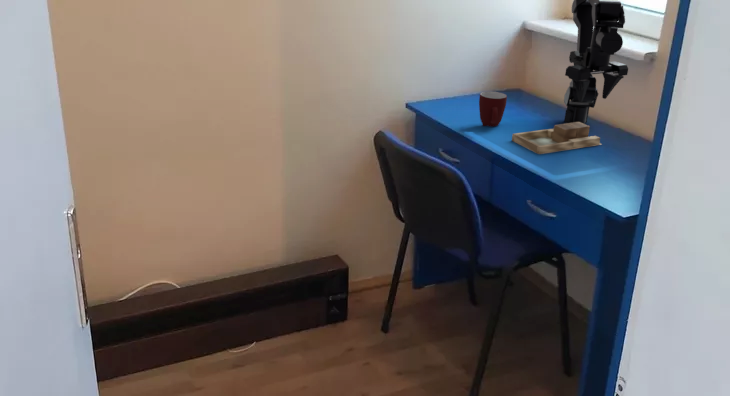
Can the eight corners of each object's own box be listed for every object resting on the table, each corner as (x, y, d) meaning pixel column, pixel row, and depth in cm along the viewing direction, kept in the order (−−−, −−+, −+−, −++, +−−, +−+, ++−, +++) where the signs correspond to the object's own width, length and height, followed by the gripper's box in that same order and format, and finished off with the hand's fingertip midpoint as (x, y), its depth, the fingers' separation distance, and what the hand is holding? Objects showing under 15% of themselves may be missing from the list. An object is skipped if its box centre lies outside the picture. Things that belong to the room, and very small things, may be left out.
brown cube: (576, 136, 216) (579, 121, 215) (587, 141, 213) (589, 126, 211) (564, 138, 214) (567, 123, 213) (575, 142, 211) (577, 127, 209)
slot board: (573, 134, 221) (574, 125, 220) (601, 147, 211) (603, 137, 210) (511, 143, 211) (512, 133, 210) (538, 157, 201) (539, 147, 200)
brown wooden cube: (564, 138, 214) (566, 123, 213) (574, 143, 211) (577, 128, 209) (552, 139, 212) (554, 125, 211) (562, 144, 209) (564, 129, 207)
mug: (509, 133, 219) (513, 101, 215) (482, 133, 218) (486, 101, 214) (498, 122, 229) (502, 91, 225) (473, 122, 228) (476, 91, 224)
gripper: (605, 38, 216) (596, 89, 223) (556, 41, 208) (548, 95, 214) (634, 46, 207) (623, 99, 214) (583, 50, 199) (574, 106, 205)
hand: (592, 100), depth 212 cm, fingers open, 9 cm apart
